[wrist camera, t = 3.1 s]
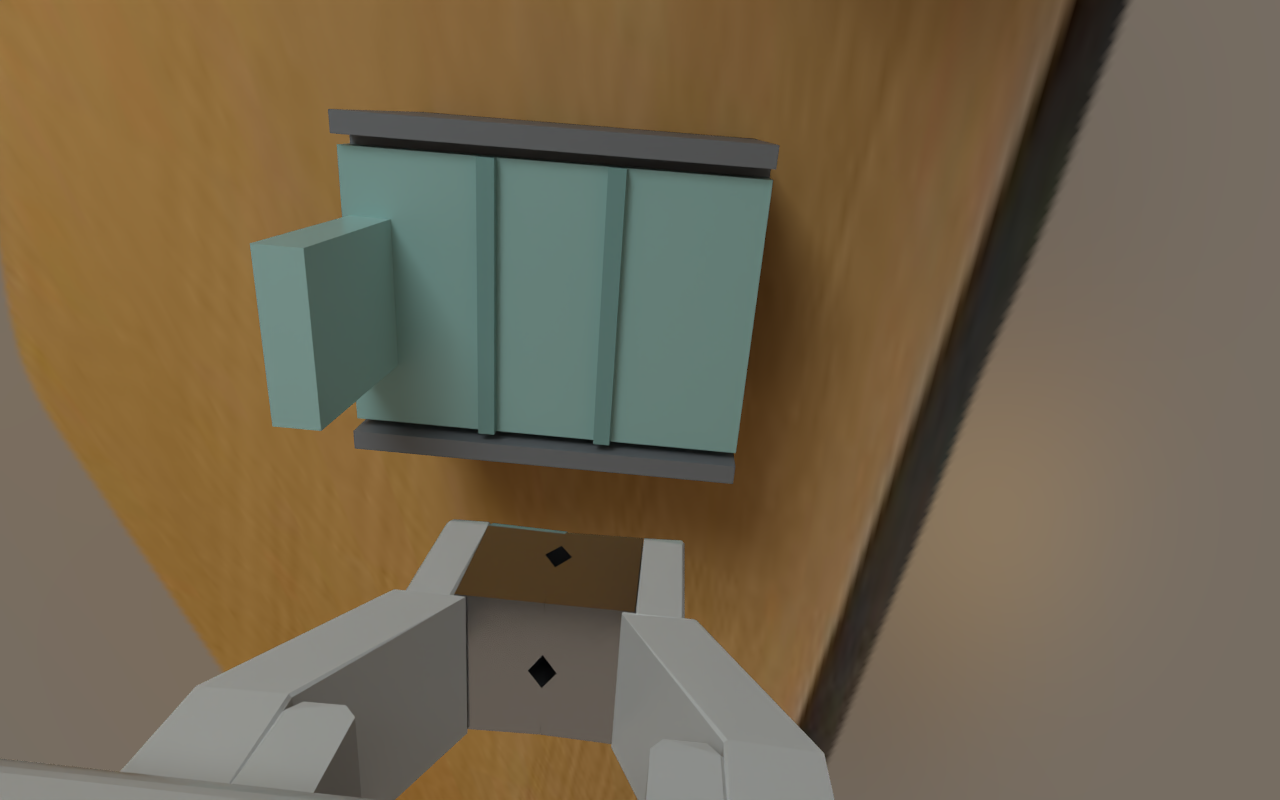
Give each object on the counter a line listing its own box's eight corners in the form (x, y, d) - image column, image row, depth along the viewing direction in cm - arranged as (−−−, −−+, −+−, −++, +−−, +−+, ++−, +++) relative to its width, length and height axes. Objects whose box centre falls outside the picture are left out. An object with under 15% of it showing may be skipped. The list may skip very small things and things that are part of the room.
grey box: (420, 112, 26) (328, 109, 19) (754, 138, 25) (779, 145, 19) (429, 373, 29) (354, 448, 23) (721, 400, 29) (732, 483, 22)
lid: (349, 143, 20) (229, 151, 15) (769, 177, 20) (800, 198, 15) (367, 408, 24) (273, 494, 18) (734, 442, 23) (749, 540, 18)
